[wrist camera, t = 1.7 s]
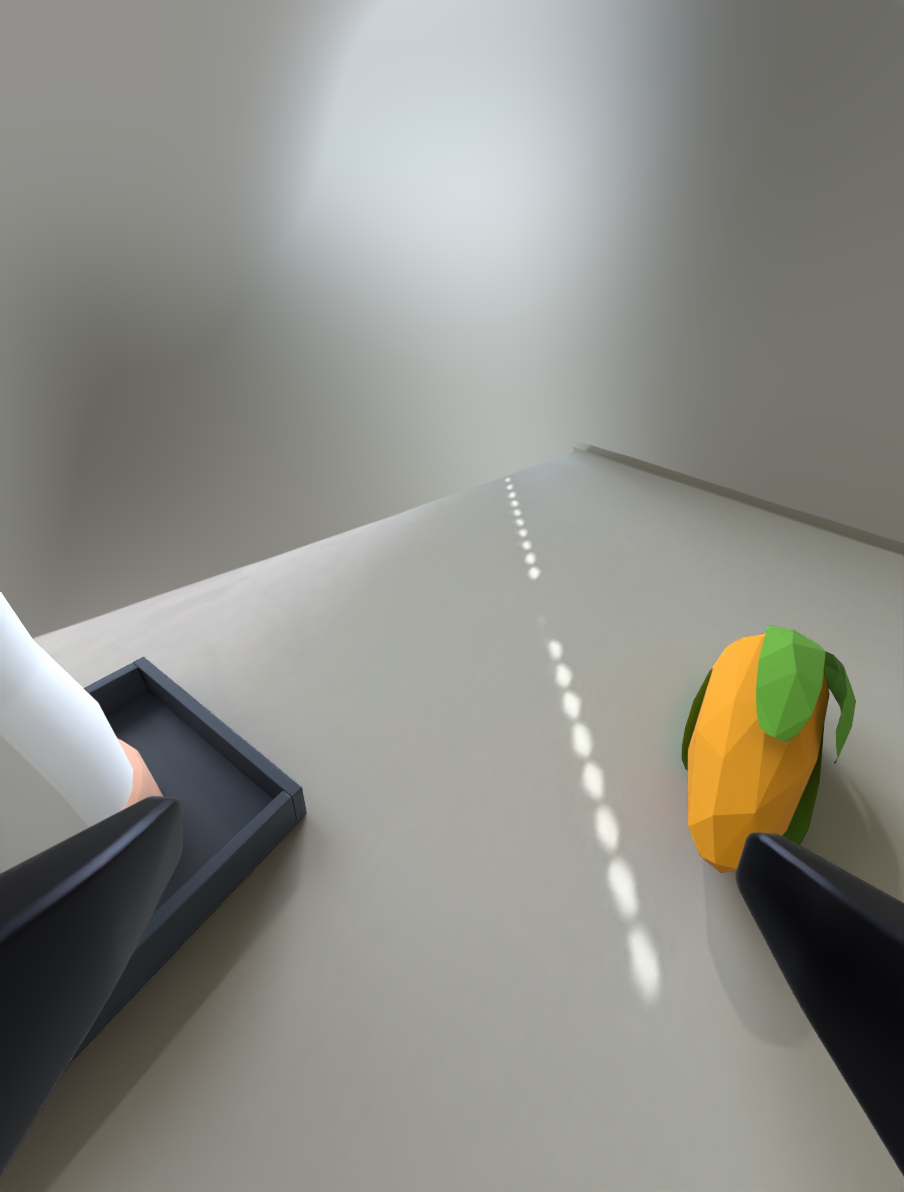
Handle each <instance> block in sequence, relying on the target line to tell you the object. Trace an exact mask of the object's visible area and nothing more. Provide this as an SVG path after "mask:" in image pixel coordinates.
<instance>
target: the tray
mask: <svg viewBox="0 0 904 1192" xmlns="http://www.w3.org/2000/svg"><path fill="white" fill-rule="evenodd" d="M83 689H84V690H85V691H86V692H87V693H88V694H89V695H91V696H92V697H93V698H94V699H95V700H96V701H97V702H98V704H99V705H100V707H101V709H102V711H103V713H104V715H105V717H106V718H107V720H108V722H109V724H110V726H111V728H112V730H113V732H114V733H115V735H116V737H117V739H120V740H122V741H123V742H125V743H127V744H128V745H130V746H131V747H133V748H134V749H136V750H137V751H138V752H139V754H140V756H141V757H142V759H143V761H144V763H145V764H146V766H147V768H148V770H149V771H150V773H151V775H152V777H153V778H154V780H155V782H156V783H157V785H158V787H159V789H160V791H161V792H162V794H163V796H165V797H176V798H178V799H180V800H181V803H182V807H183V850H182V854H181V857H180V860H179V862H178V864H177V866H176V868H175V870H174V872H173V874H172V876H171V878H170V880H169V882H168V884H167V886H166V888H165V890H164V892H163V894H162V896H161V898H160V900H159V902H158V904H157V906H156V908H155V910H154V912H153V914H152V916H151V918H150V920H149V922H148V924H147V926H146V928H145V930H144V932H143V934H142V936H141V938H140V940H139V942H138V944H137V946H136V948H135V950H134V952H133V954H132V955H131V957H130V959H129V961H128V963H127V965H126V967H125V969H124V971H123V973H122V975H121V977H120V979H119V980H118V982H117V984H116V986H115V988H114V990H113V991H112V993H111V995H110V997H109V998H108V1000H107V1002H106V1003H105V1005H104V1007H103V1009H102V1010H101V1012H100V1014H99V1015H98V1017H97V1019H96V1020H95V1022H94V1023H93V1025H92V1027H91V1028H90V1030H89V1032H88V1033H87V1035H86V1037H85V1038H84V1040H83V1042H82V1043H81V1045H80V1046H79V1048H78V1050H77V1051H76V1053H75V1055H74V1056H73V1058H72V1060H73V1059H74V1058H75V1057H76V1056H77V1055H78V1054H79V1053H80V1052H81V1051H82V1050H83V1049H84V1047H85V1046H86V1045H87V1044H88V1043H89V1042H90V1041H91V1040H92V1039H93V1038H94V1037H95V1036H96V1035H97V1034H98V1033H99V1032H100V1031H101V1030H102V1028H103V1027H104V1026H105V1025H106V1024H107V1023H108V1022H109V1021H110V1020H111V1019H112V1018H113V1017H114V1016H115V1015H116V1014H117V1013H118V1012H119V1011H120V1010H121V1008H122V1007H123V1006H124V1005H125V1004H126V1003H127V1002H128V1001H129V1000H130V999H131V998H132V997H133V996H134V995H135V994H136V993H137V992H138V991H139V990H140V988H141V987H142V986H143V985H144V984H145V983H146V982H147V981H148V980H149V979H150V978H151V977H152V976H153V975H154V974H155V973H156V972H157V971H158V970H159V968H160V967H161V966H162V965H163V964H164V963H165V962H166V961H167V960H168V959H169V958H170V957H171V956H172V955H173V954H174V953H175V952H176V951H177V950H178V948H179V947H180V946H181V945H182V944H183V943H184V942H185V941H186V940H187V939H188V938H189V937H190V936H191V935H192V934H193V933H194V932H195V931H196V930H197V928H198V927H199V926H200V925H201V924H202V923H203V922H204V921H205V920H206V919H207V918H208V917H209V916H210V915H211V914H212V913H213V912H214V911H215V910H216V908H217V907H218V906H219V905H220V904H221V903H222V902H223V901H224V900H225V899H226V898H227V897H228V896H229V895H230V894H231V893H232V892H233V891H234V890H235V888H236V887H237V886H238V885H239V884H240V883H241V882H242V881H243V880H244V879H245V878H246V877H247V876H248V875H249V874H250V873H251V872H252V871H253V870H254V868H255V867H256V866H257V865H258V864H259V863H260V862H261V861H262V860H263V859H264V858H265V857H266V856H267V855H268V854H269V853H270V852H271V851H272V850H273V848H274V847H275V846H276V845H277V844H278V843H279V842H280V841H281V840H282V839H283V838H284V837H285V836H286V835H287V834H288V833H289V832H290V831H291V830H292V828H293V827H294V826H295V825H296V824H297V823H298V822H299V821H300V820H301V819H302V818H303V817H304V816H305V815H306V813H307V812H306V807H305V801H304V796H303V790H302V787H301V786H300V785H299V784H298V783H296V782H295V781H294V780H293V779H292V778H290V777H289V776H288V775H287V774H285V773H284V772H283V771H282V770H281V769H279V768H278V767H277V766H276V765H275V764H273V763H272V762H271V761H270V760H268V759H267V758H266V757H265V756H264V755H262V754H261V753H260V752H259V751H258V750H256V749H255V748H254V747H253V746H251V745H250V744H249V743H248V742H247V741H245V740H244V739H243V738H242V737H241V736H239V735H238V734H237V733H236V732H234V731H233V730H232V729H231V728H230V727H228V726H227V725H226V724H225V723H224V722H222V721H221V720H220V719H219V718H217V717H216V716H215V715H214V714H213V713H211V712H210V711H209V710H208V709H206V708H205V707H204V706H203V705H202V704H200V703H199V702H198V701H197V700H196V699H194V698H193V697H192V696H191V695H189V694H188V693H187V692H186V691H185V690H183V689H182V688H181V687H180V686H179V685H177V684H176V683H175V682H174V681H172V680H171V679H170V678H169V677H168V676H166V675H165V674H164V673H163V672H162V671H160V670H159V669H158V668H157V667H155V666H154V665H153V664H152V663H151V662H149V661H148V660H147V659H146V658H145V657H142V658H140V659H138V660H136V661H134V662H133V663H131V664H129V665H127V666H125V667H123V668H121V669H119V670H118V671H116V672H114V673H112V674H110V675H108V676H106V677H104V678H102V679H100V680H99V681H97V682H95V683H93V684H91V685H89V686H87V687H85V688H83ZM72 1060H71V1061H72ZM71 1061H70V1062H71Z"/></svg>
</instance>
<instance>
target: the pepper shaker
mask: <svg viewBox="0 0 904 1192" xmlns="http://www.w3.org/2000/svg"><path fill="white" fill-rule="evenodd" d="M150 796H163V794H162V792H161V791H160V789H159V787H158V785H157V783H156V782H155V780H154V778H153V777H152V775H151V773H150V771H149V770H148V768H147V766H146V764H145V763H144V761H143V759H142V757H141V756H140V754H139V752H138V751H137V750H136V749H134V748H133V747H131V746H130V745H128V744H127V743H125V742H123V741H122V740H120V739H117V737H116V735H115V733H114V732H113V730H112V728H111V726H110V724H109V722H108V720H107V718H106V717H105V715H104V713H103V711H102V709H101V707H100V705H99V704H98V702H97V701H96V700H95V699H94V698H93V697H92V696H91V695H89V694H88V693H87V692H86V691H85V690H84V689H83V688H82V687H81V686H80V685H79V684H78V683H77V682H76V681H75V680H74V679H73V678H72V677H71V676H70V675H69V674H68V673H67V672H66V671H65V670H64V669H63V668H61V667H60V666H59V665H58V664H57V663H56V662H55V661H54V660H53V659H52V658H51V657H50V656H49V655H48V654H47V653H46V652H45V651H44V650H43V649H42V648H41V647H40V646H39V645H38V644H37V643H36V642H35V641H33V639H32V638H31V636H30V635H29V633H28V632H27V630H26V629H25V628H24V626H23V624H22V623H21V621H20V620H19V618H18V617H17V615H16V614H15V613H14V611H13V610H12V608H11V607H10V605H9V604H8V602H7V601H6V599H5V598H4V596H3V595H2V593H1V592H0V873H2V872H4V871H6V870H8V869H10V868H12V867H14V866H16V865H18V864H20V863H22V862H24V861H25V860H27V859H29V858H31V857H33V856H35V855H37V854H39V853H41V852H43V851H45V850H47V849H49V848H50V847H52V846H54V845H56V844H58V843H60V842H62V841H64V840H66V839H68V838H70V837H72V836H73V835H75V834H77V833H79V832H81V831H83V830H85V829H87V828H89V827H91V826H93V825H95V824H97V823H98V822H100V821H102V820H104V819H106V818H108V817H110V816H112V815H114V814H116V813H118V812H120V811H122V810H123V809H125V808H127V807H129V806H131V805H133V804H135V803H137V802H139V801H141V800H143V799H145V798H147V797H150Z"/></svg>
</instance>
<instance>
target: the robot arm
mask: <svg viewBox="0 0 904 1192" xmlns="http://www.w3.org/2000/svg"><path fill="white" fill-rule="evenodd" d="M182 850H183V807H182V803H181V800H180V799H178V798H176V797H165V796H150V797H147V798H145V799H143V800H141V801H139V802H137V803H135V804H133V805H131V806H129V807H127V808H125V809H123V810H122V811H120V812H118V813H116V814H114V815H112V816H110V817H108V818H106V819H104V820H102V821H100V822H98V823H97V824H95V825H93V826H91V827H89V828H87V829H85V830H83V831H81V832H79V833H77V834H75V835H73V836H72V837H70V838H68V839H66V840H64V841H62V842H60V843H58V844H56V845H54V846H52V847H50V848H49V849H47V850H45V851H43V852H41V853H39V854H37V855H35V856H33V857H31V858H29V859H27V860H25V861H24V862H22V863H20V864H18V865H16V866H14V867H12V868H10V869H8V870H6V871H4V872H2V873H0V1176H1V1175H2V1173H3V1171H4V1170H5V1168H6V1167H7V1165H8V1163H9V1162H10V1160H11V1158H12V1157H13V1155H14V1153H15V1152H16V1150H17V1148H18V1147H19V1145H20V1144H21V1142H22V1140H23V1139H24V1137H25V1135H26V1134H27V1132H28V1130H29V1129H30V1127H31V1125H32V1124H33V1122H34V1120H35V1119H36V1117H37V1116H38V1114H39V1112H40V1111H41V1109H42V1107H43V1106H44V1104H45V1102H46V1101H47V1099H48V1097H49V1096H50V1094H51V1093H52V1091H53V1089H54V1088H55V1086H56V1084H57V1083H58V1081H59V1079H60V1078H61V1076H62V1074H63V1073H64V1071H65V1069H66V1068H67V1066H68V1065H69V1063H70V1061H71V1060H72V1058H73V1056H74V1055H75V1053H76V1051H77V1050H78V1048H79V1046H80V1045H81V1043H82V1042H83V1040H84V1038H85V1037H86V1035H87V1033H88V1032H89V1030H90V1028H91V1027H92V1025H93V1023H94V1022H95V1020H96V1019H97V1017H98V1015H99V1014H100V1012H101V1010H102V1009H103V1007H104V1005H105V1003H106V1002H107V1000H108V998H109V997H110V995H111V993H112V991H113V990H114V988H115V986H116V984H117V982H118V980H119V979H120V977H121V975H122V973H123V971H124V969H125V967H126V965H127V963H128V961H129V959H130V957H131V955H132V954H133V952H134V950H135V948H136V946H137V944H138V942H139V940H140V938H141V936H142V934H143V932H144V930H145V928H146V926H147V924H148V922H149V920H150V918H151V916H152V914H153V912H154V910H155V908H156V906H157V904H158V902H159V900H160V898H161V896H162V894H163V892H164V890H165V888H166V886H167V884H168V882H169V880H170V878H171V876H172V874H173V872H174V870H175V868H176V866H177V864H178V862H179V860H180V857H181V854H182ZM736 882H737V886H738V889H739V891H740V893H741V895H742V897H743V899H744V901H745V903H746V904H747V906H748V908H749V910H750V912H751V914H752V916H753V918H754V920H755V922H756V924H757V925H758V927H759V929H760V931H761V933H762V935H763V937H764V939H765V941H766V943H767V944H768V946H769V948H770V950H771V952H772V954H773V956H774V958H775V960H776V962H777V964H778V965H779V967H780V969H781V971H782V973H783V975H784V977H785V979H786V981H787V983H788V985H789V986H790V988H791V990H792V992H793V994H794V996H795V997H796V999H797V1001H798V1003H799V1005H800V1007H801V1008H802V1010H803V1012H804V1013H805V1015H806V1017H807V1018H808V1020H809V1022H810V1023H811V1025H812V1027H813V1029H814V1030H815V1032H816V1033H817V1035H818V1037H819V1038H820V1040H821V1042H822V1043H823V1045H824V1047H825V1048H826V1050H827V1052H828V1053H829V1055H830V1056H831V1058H832V1060H833V1061H834V1063H835V1065H836V1066H837V1068H838V1070H839V1071H840V1073H841V1074H842V1076H843V1078H844V1079H845V1081H846V1083H847V1084H848V1086H849V1088H850V1089H851V1091H852V1092H853V1094H854V1096H855V1097H856V1099H857V1101H858V1102H859V1104H860V1106H861V1107H862V1109H863V1110H864V1112H865V1114H866V1115H867V1117H868V1119H869V1120H870V1122H871V1124H872V1125H873V1127H874V1129H875V1130H876V1132H877V1133H878V1135H879V1137H880V1138H881V1140H882V1142H883V1143H884V1145H885V1147H886V1148H887V1150H888V1151H889V1153H890V1155H891V1156H892V1158H893V1160H894V1161H895V1163H896V1165H897V1166H898V1168H899V1169H900V1171H901V1173H902V1174H903V1176H904V903H903V902H901V901H899V900H897V899H895V898H894V897H892V896H890V895H888V894H886V893H885V892H883V891H881V890H879V889H877V888H875V887H874V886H872V885H870V884H868V883H866V882H865V881H863V880H861V879H859V878H857V877H856V876H854V875H852V874H850V873H848V872H847V871H845V870H843V869H841V868H839V867H837V866H836V865H834V864H832V863H830V862H828V861H827V860H825V859H823V858H821V857H819V856H818V855H816V854H814V853H812V852H810V851H809V850H807V849H805V848H803V847H801V846H799V845H798V844H796V843H794V842H792V841H790V840H789V839H787V838H785V837H783V836H781V835H779V834H775V833H763V832H753V833H751V834H750V835H748V837H747V838H746V841H745V844H744V847H743V850H742V854H741V857H740V860H739V863H738V867H737V870H736Z"/></svg>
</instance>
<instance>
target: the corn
mask: <svg viewBox="0 0 904 1192" xmlns="http://www.w3.org/2000/svg"><path fill="white" fill-rule="evenodd" d="M828 688H829V689H830V690H831V692H832V694H833V695H834V697H835V699H836V701H837V702H838V704H839V706H840V709H841V716H840V719H839V723H838V726H837V729H836V747H837V756H838V757H839V755H840V753H841V750H842V748H843V746H844V743H845V741H846V739H847V736H848V734H849V732H850V729H851V727H852V723H853V716H854V710H855V703H856V700H855V697H854V694H853V690H852V687H851V685H850V682H849V679H848V676H847V674H846V671H845V668H844V666H843V664H842V663H841V662H840V661H839V660H838V659H837V658H836V657H835V656H834V655H833V654H830V653H828V652H826V651H825V650H824V649H823V648H822V647H821V646H820V645H819V644H817V643H816V642H814V641H812V640H810V639H809V638H807V637H805V636H803V635H802V634H800V633H798V632H796V631H795V630H791V629H786V628H780V627H775V626H769V625H768V626H767V630H766V634H761V635H755V636H750V637H744V638H741V639H739V640H737V641H736V642H734V643H732V644H730V645H729V646H727V647H726V648H725V650H724V651H723V653H722V654H721V656H720V657H719V659H718V660H717V661H716V663H715V664H714V667H713V668H712V669H711V670H710V671H709V673H708V675H707V677H706V679H705V681H704V683H703V684H702V686H701V688H700V690H699V692H698V694H697V696H696V697H695V699H694V702H693V705H692V708H691V711H690V714H689V717H688V720H687V724H686V727H685V732H684V738H683V743H682V761H683V764H684V766H685V769H686V770H687V771H688V827H689V830H690V832H691V835H692V837H693V840H694V842H695V845H696V847H697V850H698V852H699V855H700V856H701V857H702V858H703V859H705V860H706V861H707V862H708V863H709V864H711V865H712V866H713V867H714V868H716V869H717V870H718V871H719V872H720V873H724V872H730V871H736V870H737V867H738V863H739V860H740V857H741V854H742V850H743V847H744V844H745V841H746V838H747V837H748V835H750V834H751V833H753V832H763V833H775V834H779V835H781V836H783V837H785V838H787V839H789V840H790V841H792V842H794V843H796V844H798V845H799V846H800V844H801V842H802V840H803V838H804V836H805V835H806V833H807V831H808V828H809V824H810V820H811V816H812V812H813V808H814V803H815V799H816V795H817V791H818V787H819V781H820V769H821V757H822V745H823V733H824V721H825V716H826V710H827V705H828V700H829V690H828ZM838 757H837V759H838ZM837 759H836V761H837ZM836 761H835V762H834V763H836Z"/></svg>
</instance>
